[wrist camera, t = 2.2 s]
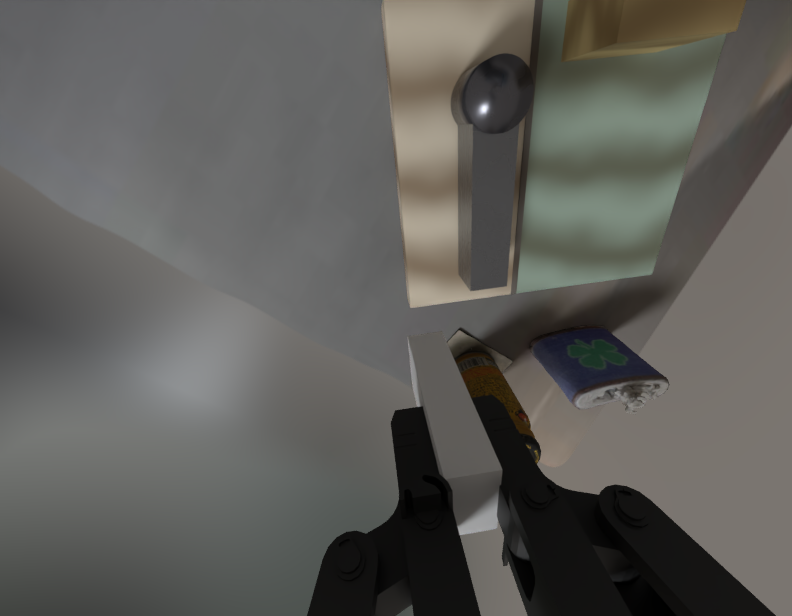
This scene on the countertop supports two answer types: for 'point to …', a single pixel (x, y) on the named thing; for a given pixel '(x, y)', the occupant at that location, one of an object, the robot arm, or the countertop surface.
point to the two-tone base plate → (552, 130)
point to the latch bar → (488, 164)
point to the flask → (597, 368)
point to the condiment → (490, 381)
